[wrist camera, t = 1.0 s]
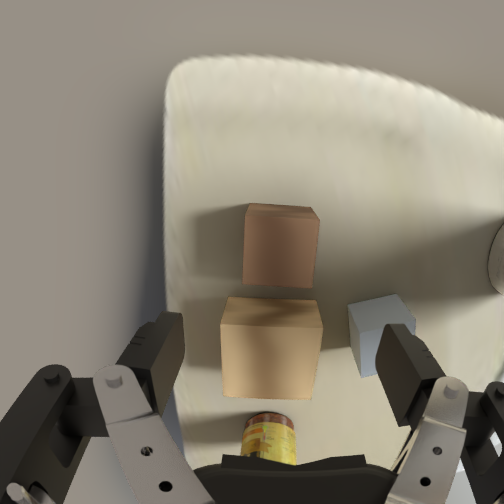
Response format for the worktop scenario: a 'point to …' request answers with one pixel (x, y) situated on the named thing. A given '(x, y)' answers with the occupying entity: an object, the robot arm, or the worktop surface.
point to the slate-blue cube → (374, 327)
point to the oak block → (270, 348)
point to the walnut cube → (280, 245)
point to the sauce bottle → (270, 438)
